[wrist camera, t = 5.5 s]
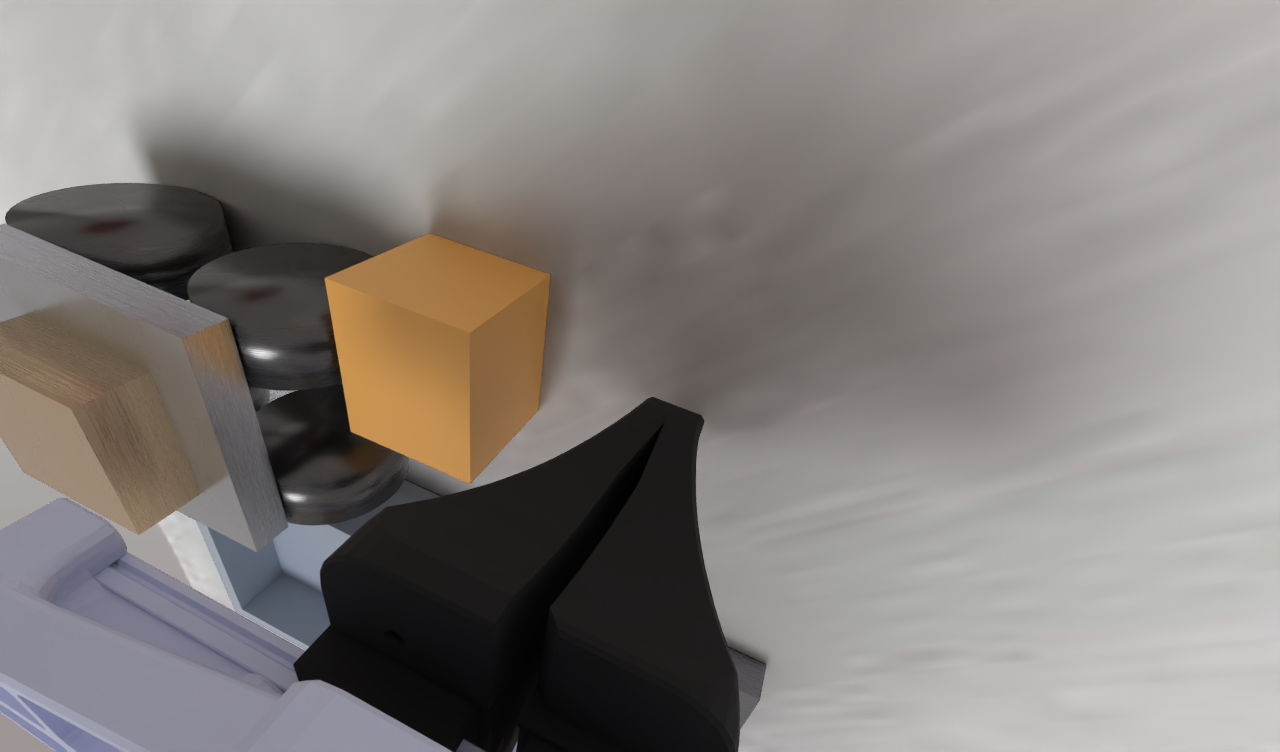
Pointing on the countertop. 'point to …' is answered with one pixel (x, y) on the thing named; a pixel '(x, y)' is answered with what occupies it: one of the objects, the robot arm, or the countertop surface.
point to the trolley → (177, 366)
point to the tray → (289, 571)
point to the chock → (440, 350)
